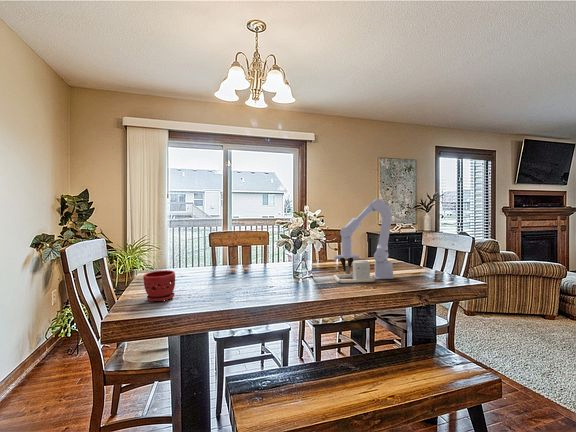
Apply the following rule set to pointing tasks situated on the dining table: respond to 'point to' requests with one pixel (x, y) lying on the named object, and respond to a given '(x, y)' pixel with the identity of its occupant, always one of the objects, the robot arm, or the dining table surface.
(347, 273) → the pull frame
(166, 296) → the plant pot
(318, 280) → the dining table surface
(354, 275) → the small box
